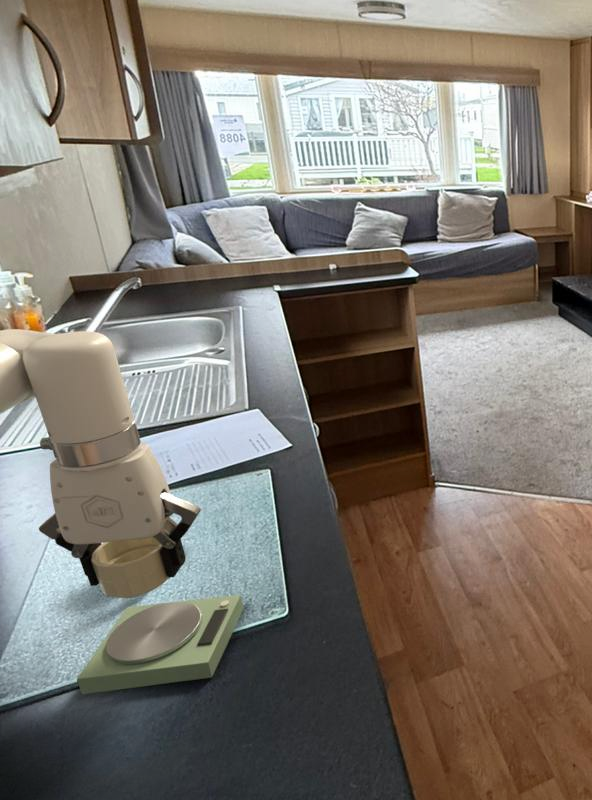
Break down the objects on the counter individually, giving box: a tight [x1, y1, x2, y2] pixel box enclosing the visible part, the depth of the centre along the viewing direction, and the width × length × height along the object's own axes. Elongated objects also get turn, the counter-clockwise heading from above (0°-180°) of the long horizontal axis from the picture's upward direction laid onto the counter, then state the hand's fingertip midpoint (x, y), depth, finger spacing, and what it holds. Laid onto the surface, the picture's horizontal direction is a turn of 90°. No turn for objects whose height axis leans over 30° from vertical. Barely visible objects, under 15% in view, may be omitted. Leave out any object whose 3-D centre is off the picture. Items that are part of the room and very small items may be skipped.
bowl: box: [91, 537, 171, 599], centre depth 77 cm, size 7×7×5 cm
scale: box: [76, 594, 245, 695], centre depth 82 cm, size 14×12×3 cm
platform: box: [106, 601, 202, 664], centre depth 81 cm, size 10×10×1 cm
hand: (138, 573), depth 78 cm, fingers closed on bowl, 7 cm apart
